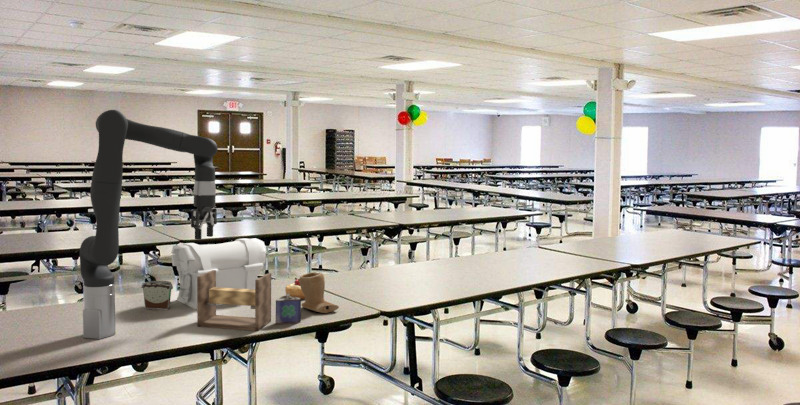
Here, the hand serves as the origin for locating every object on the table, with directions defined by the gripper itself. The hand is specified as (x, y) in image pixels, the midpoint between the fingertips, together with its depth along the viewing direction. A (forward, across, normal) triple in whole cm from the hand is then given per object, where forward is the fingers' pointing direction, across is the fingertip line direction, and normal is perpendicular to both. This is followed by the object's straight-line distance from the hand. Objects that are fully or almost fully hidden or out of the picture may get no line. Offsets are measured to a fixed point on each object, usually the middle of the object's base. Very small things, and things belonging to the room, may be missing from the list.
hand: (204, 237), depth 221 cm
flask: (+30, -6, +31) cm, 44 cm away
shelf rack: (+30, +1, +13) cm, 33 cm away
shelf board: (+23, +1, +13) cm, 26 cm away
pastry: (+30, -44, +21) cm, 57 cm away
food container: (+31, -13, -25) cm, 42 cm away
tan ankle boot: (+30, -25, +35) cm, 53 cm away
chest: (+30, -30, -8) cm, 44 cm away
